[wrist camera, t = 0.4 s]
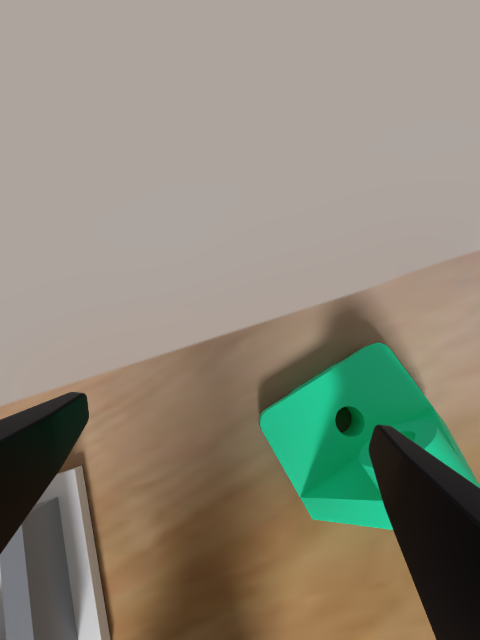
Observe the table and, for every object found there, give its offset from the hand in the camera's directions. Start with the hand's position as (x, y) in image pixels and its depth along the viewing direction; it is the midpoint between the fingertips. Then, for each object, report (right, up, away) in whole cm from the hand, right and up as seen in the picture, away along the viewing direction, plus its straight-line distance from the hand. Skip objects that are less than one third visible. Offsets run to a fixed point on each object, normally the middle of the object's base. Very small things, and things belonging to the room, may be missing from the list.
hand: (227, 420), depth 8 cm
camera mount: (+9, -5, +15) cm, 18 cm away
